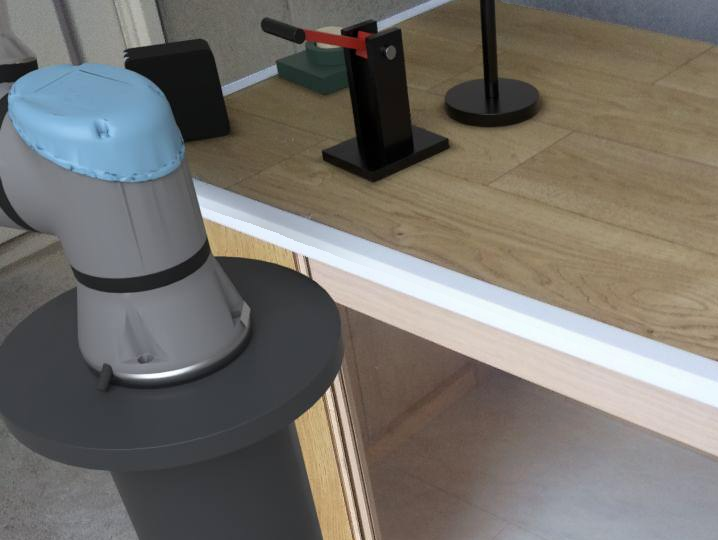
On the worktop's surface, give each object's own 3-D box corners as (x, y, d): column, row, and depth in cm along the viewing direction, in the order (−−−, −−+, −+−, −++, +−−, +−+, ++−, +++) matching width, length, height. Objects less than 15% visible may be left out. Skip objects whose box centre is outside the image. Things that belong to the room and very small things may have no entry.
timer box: (325, 95, 130) (319, 63, 127) (278, 77, 135) (272, 46, 132) (393, 69, 136) (389, 38, 133) (346, 53, 141) (341, 22, 138)
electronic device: (232, 134, 121) (212, 48, 114) (148, 148, 119) (122, 61, 112) (227, 122, 124) (207, 37, 117) (145, 135, 121) (119, 49, 114)
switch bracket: (373, 182, 111) (355, 53, 101) (322, 160, 115) (300, 34, 106) (449, 148, 117) (439, 23, 108) (398, 128, 122) (384, 6, 112)
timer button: (329, 52, 131) (327, 38, 129) (310, 46, 133) (308, 32, 131) (352, 44, 133) (350, 30, 132) (333, 38, 135) (331, 24, 133)
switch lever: (292, 48, 98) (295, 22, 97) (259, 36, 100) (261, 10, 99) (397, 65, 108) (401, 41, 107) (364, 54, 111) (367, 31, 110)
